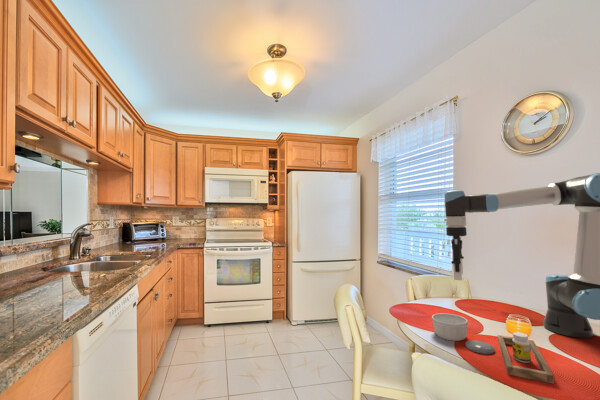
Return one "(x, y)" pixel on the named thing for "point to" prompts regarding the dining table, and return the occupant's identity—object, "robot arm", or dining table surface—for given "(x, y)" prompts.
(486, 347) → the coaster
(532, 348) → the wooden frame
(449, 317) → the ramekin
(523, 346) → the supplement bottle
